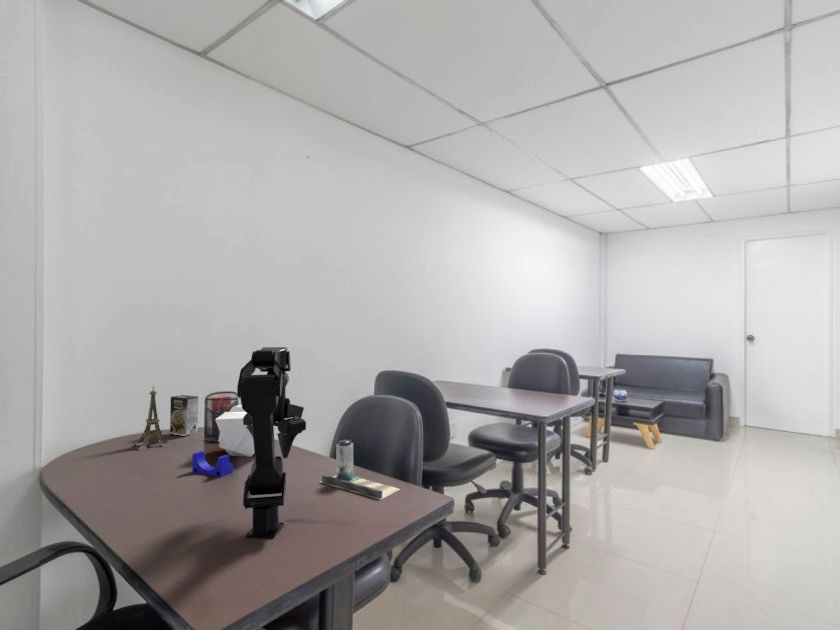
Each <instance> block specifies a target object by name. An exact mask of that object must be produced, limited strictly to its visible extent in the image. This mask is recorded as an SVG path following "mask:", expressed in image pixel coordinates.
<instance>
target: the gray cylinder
mask: <svg viewBox="0 0 840 630" xmlns="http://www.w3.org/2000/svg"><path fill="white" fill-rule="evenodd" d="M337 442H338V443H336V446H335V447H336V448H335V449H336V451H335V452H336V455H335V456H336V458H335V459H336V460H335V461H336V465H335V466H336V468H335V469H336V471H335V473H336V474H335V476H336V478H338V479H341V480H345V481H350V480H352V479H353V476H354V443H353V442H352V440H351V439H341V440H338V441H337Z"/></svg>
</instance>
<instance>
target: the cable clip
mask: <svg viewBox="0 0 840 630" xmlns="http://www.w3.org/2000/svg"><path fill="white" fill-rule="evenodd" d="M233 465H234V463H232V462H231V463H230V455H229V454H224V455H221V456H219V457H217V462H216V465H215V467H214V466H212V465H211V464H209V463H208V462H207V460H206V457H205V452H204V451H200V450H199V451H197V452H193V453H192V466H191V467H192V473H194V472H195V474H200V473H201V475H208V476H213V477H219V478H222V477H225V476H227V475H230V474H233V469H234V467H233Z"/></svg>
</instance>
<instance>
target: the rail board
mask: <svg viewBox="0 0 840 630" xmlns="http://www.w3.org/2000/svg"><path fill="white" fill-rule="evenodd" d="M320 483H322V484H325V485H329V486H332V487H335V488H339V489H343V490H346V491H349V492H353V493H356V494H360V495H363V496H366V497H369V498H370V497H371V498H373V499H377V500H380V501H381V500H383V499H385V498H387V497H389V496H390V495H391V496H392V494H395V493H397V492H399V491H401V488H398V487H395V486H390V485H387V484H382V483H379V482H375V481H372V480H368V479H365V478H362V477H360V476H354V475H353V479H352V480H350V481H345V480H341V479H338V478H336V475H334V476H333V475H332V476H329V475H327V474H322V476H321V481H320Z"/></svg>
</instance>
